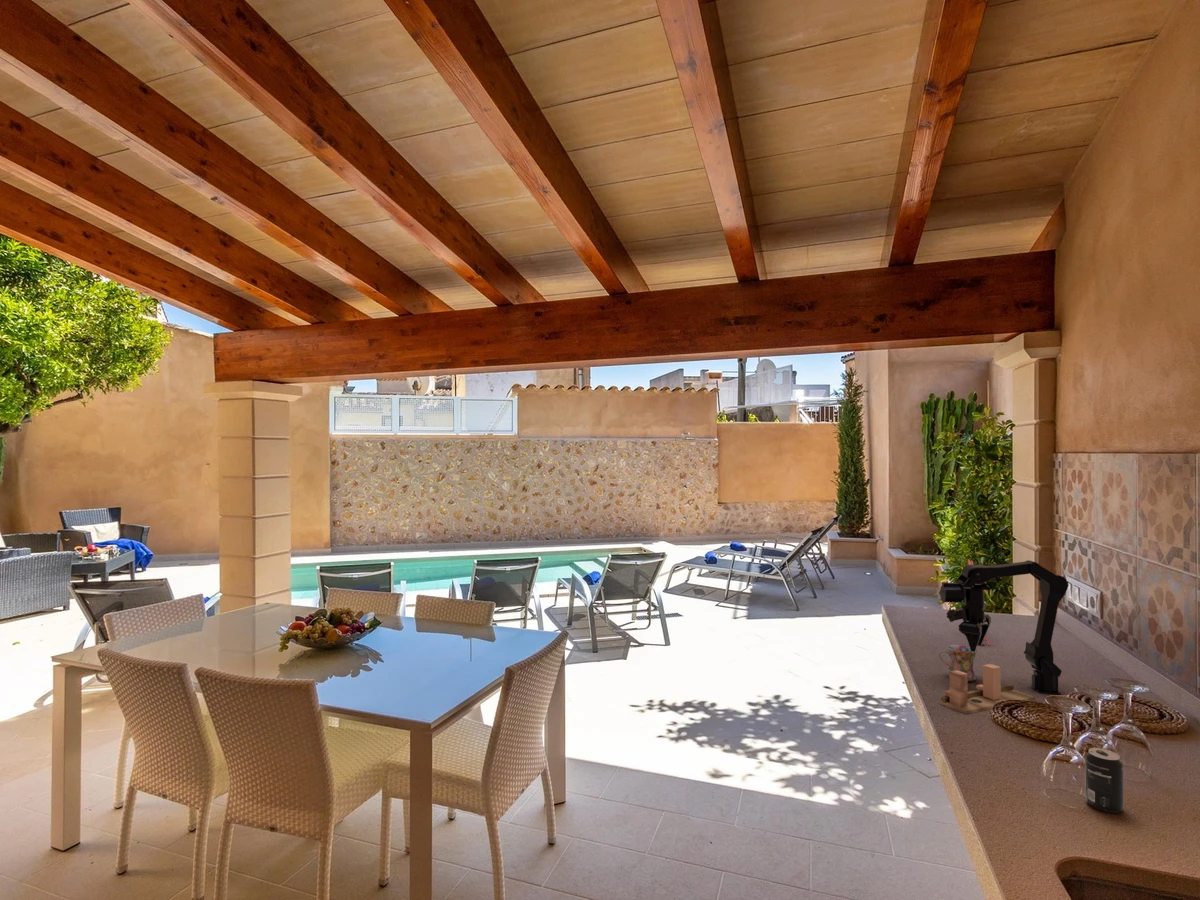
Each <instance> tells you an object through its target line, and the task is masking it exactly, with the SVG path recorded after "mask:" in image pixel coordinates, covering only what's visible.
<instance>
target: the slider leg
mask: <svg viewBox="0 0 1200 900" xmlns="http://www.w3.org/2000/svg"><path fill="white" fill-rule="evenodd" d="M1001 668H1002V667H1001V666H998V665H996V664H992V663H988V664H983V665H982V684H981V683H980V684H976V690H978V689H980V690H983V696H984V697H987V698H989V699H992V700H995V699H1000V698H1001V685H1002V681H1001V680H1002V676H1001V675H1002V674H1001V673H1002V671H1001V670H1002V669H1001Z"/></svg>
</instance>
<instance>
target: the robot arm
mask: <svg viewBox="0 0 1200 900" xmlns="http://www.w3.org/2000/svg"><path fill="white" fill-rule="evenodd" d="M961 569H962V570H961V573H960V574H959V576H958V577H957V578H956V580H955V581H954V582H946V581H942V582H941V586H940V589H939V597H940V600H941V602H942V603H962V602H963V601H964V605H963V606H962V607H961V608H957V609H954V608H953V609H949V610H948V611H947V612H946V619H948V621H949V622H950V623H951V622H952V623H953V622H954V621H958V620H962V622H960V624H958V632H960V633H961V634H963V635H964V636H966V637H965V638H966V640H967V642H968V647H970V649H971V651H973V652H975V650H977V647H978V646H982V644H983V642H984V641H985V638H984V637H985V636H987V633H988V630H989V628H990V626H991V624H992V618H991V616H990V615H989V614H986V613H985V609H986V606H987V605H986V604H985V593H984V591H986V590H988V591H991V587H990V586H989V585H987V584H986V583H989V582H990V581H991V580H994V579H998V578H1005V577H1013V576H1021V575H1031V576H1032V577H1033V578H1034V579H1036V580H1037V581H1039V590H1040V595H1041V603H1040V608H1039V612H1038V617H1037V624H1036V630H1035V632H1034V633H1035V634H1034V639H1032V641H1031V642H1028V641H1026V642H1025V650H1024V651H1023V654H1025V660H1026V661H1027V662H1028V663H1029V664H1030V666H1031V668H1032V669H1034V670H1033V674H1031V688H1033V689H1034V690H1035V691H1036V692H1038V693H1040V694H1051V695H1061V692H1060V691H1059V677H1061V674H1062V672H1063V670H1061V669H1060V668H1059V667H1058V666H1057V665H1056V664H1055V663H1054V651H1053V647H1052V640H1053V635H1054V629H1055V624H1056V619H1057V614H1058V608H1059V604H1060V602H1061V601H1062V599H1063V598H1064V597H1065V595H1066V593H1067V591H1068V588H1069V581H1068V580H1067V579H1066V577H1064V576H1062V575H1059V574H1057V573H1053V572H1052V571H1050V570H1049V569H1047V568H1045V567H1043V566H1042V565H1041V564H1039V563H1038V562H1036V561H1033V560H1025V561H1020V562H1018V561H1017V562H1012V563H1004V564H994V565H983V564H973V565H968V564H966V565H964V567H963V568H961ZM984 582H985V583H984Z"/></svg>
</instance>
